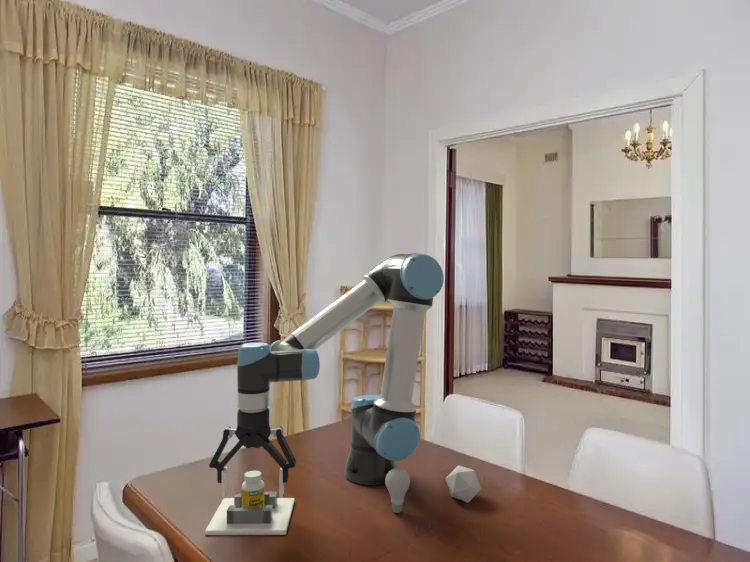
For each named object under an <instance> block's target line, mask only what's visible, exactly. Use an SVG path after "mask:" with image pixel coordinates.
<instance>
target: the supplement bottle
mask: <svg viewBox="0 0 750 562" xmlns="http://www.w3.org/2000/svg"><path fill="white" fill-rule="evenodd" d="M243 477H244V478H243V480H244V481H243V483H242V484H241V492H242V508H264V492H265V482H264V480H262V472H261V471H260V470H250V471H246V472H244V474H243Z"/></svg>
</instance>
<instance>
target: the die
mask: <svg viewBox="0 0 750 562" xmlns="http://www.w3.org/2000/svg"><path fill="white" fill-rule="evenodd" d="M477 475H478V474H477V473H476V471H475V470H474V469H472V468H468V467H465V466H462V465H457V466H456V467H455V468H454V469H453V470H452V471H451V472H450V473H449V474H448V475H447V476H446V477H445V482H446V485H447V488H448V490H449V493H450V497H452V498H454V499H457V500H459V501H461V502H464V503H470V501H471V500H473V498H475V496H476V495H477V494H479V492H480V491H481V490H482V487H481V484H480V482H479V478H478V476H477Z"/></svg>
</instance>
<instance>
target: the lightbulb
mask: <svg viewBox="0 0 750 562" xmlns="http://www.w3.org/2000/svg"><path fill="white" fill-rule="evenodd" d="M410 485H411V478H410V475H409V473H408V472H407V471H406V470H405V469H403V468H401V467H396V468H394V469H392V470H390V471H389V472H388V474H387V475H386V479H385V487H386V488H387V490H388V492H389V494H390V495H389V496H390V502H391V511H392V512H393V513H396V514H399V513H401V512H402V511H403V507H404V506H403V505H404V504H403V503H404V501H405V495H406V493H407V491H408V490H409V488H410Z"/></svg>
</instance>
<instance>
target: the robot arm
mask: <svg viewBox="0 0 750 562" xmlns="http://www.w3.org/2000/svg"><path fill="white" fill-rule="evenodd" d="M443 285H444V272H443V269H442V267H441V265H440V264H439V262H438V261H437V260H436V259H435V258H434V257H433V256H431V255H428V254H424V253H416V252H415V253H413V252H412V253H398V254H395V255H394V254H393V255H391V256H390V257H388V258H386V259H385V260H384V261H382V262H381V263H379V264H378V265H377V266H376V267H374V268H373V269H371V270H370V271H369V272H367V273H366V274H365V275H364V276H362V280H361V282H359V284H357V285H356V286H354V287H353V288H352V289H350V290H349V291H348V292H346V293H345V294H343V295H342V296H341V297H339V298H338V299H336V300H335V301H334V302H332V303H331V304H330V305H329V306H327V307H326V308H324V309H323V310H322V311H320V312H319V313H318V314H316V315H315V316H314V317H312V318H311V319H309V320H308V321H307V322H305V323H304V324H303V325H302V326H300V327H298V328H297V329H295V330H294V331H293V332H292V333H290V334H289V335H287V336H286V337H284V338H283V339H278V340H276V341H274V342H272V343H271V344H269V343H266V342H245V343H242V344H241V345H240V346H239V347H238V348H237V349H238V351H237V362H236V365H237V367H236V368H237V369H236V370H237V371H236V372H237V376H236V377H237V391H236V392H237V393H236V394H237V396H236V397H237V398H236V399H237V400H236V403H237V405H236V406H237V408H238V410H237V413H236V415H237V417H236V418H237V419H236V422H237V423H236V424H237V425H236V428H231V426H228V425H227V426H226V427H225V428H224V429H223V434H222V439H221V441H220V443H219V445H218V448H217V449H216V451H215V453H214V455H213V457H212V458H211V460H210V463H209V464H208V466H209V468H211V469H216V471H217V474H216V477H217V479H216V481H217V483H218V484H221V499H224V498H227V495H228V493H229V492H228V486H229V485H228V484H229V481H228V476H229V474H228V471H229V468H228V466H226V465H227V464H228V462H230V461H231V459H232V458H234V456H235V455H236V454H237V452H238V451H239V450H241V448H242V447H245V448H246V449H251V448H253V449H259V448H261V447H262V448H263V449H264V450H265V451H266V452H268V454H269V455H270V456H271V457H272V459H273V460H274V461H275V462H276V463H277V465H278V466H279V467H280V469H279V472H278V476H279V478H278V479H279V480H278V486H279V487H278V493H279V494H278V498H284V495H285V484H287V483H288V481H289V469H293V468H295V466H296V464H297V460H296V458H295V455H294V454H293V452H292V449H291V448H290V446H289V444H288V441H287V440H286V438H285V436H284V428H283V427H282V426H278V428H271V426H270V408H269V407H270V405H271V404H270V401H271V400H270V399H271V397H270V396H271V395H270V394H271V392H270V385H271V383H283V382H294V381H296V382H298V381H303V382H304V381H309V380H314V379H317V377H319V376H318V375H319V374H320V368H321V367H320V366H321V365H320V357H319V353H318V351H317V349H318V348H320V347H321V346H322V345H324V344H325V343H326V342H328V341H329V340H331V339H332V338H333V337H334V336H336V335H337V334H338V333H340V332H341V331H343V330H344V329H345V328H346V327H348V326H349V325H351V324H352V323H353V322H354V321H356V320H357V319H358V318H360V317H361V316H363V315H364V314H365V313H367V312H368V311H370V310H371V309H372V308H373V307H374V306H376V305H377V304H385V302H388V301H389V303H390V304H391V306H392V307H393V309H392V317H391V322H390V327H389V328H390V329H389V335H388V341H387V348H386V355H385V360H384V361H385V363H384V369H383V376H382V382H381V388H380V394H364V395H358V396H355V397H354V398H352V401H351V408H350V410H351V411H350V413H351V414H350V450H349V453H348V456H347V458H346V462H345V463H344V464H345V465H344V476H345V479H347V480H348V481H349V482H352V483H354V484H359V485H364V486H379V485H384V484H385V485H386V483H385V479H386V475H387V474H388V472H389V471H390V470H392V469H394V468H397V464H396V461H397V462H398V461H403V460H405V459H407V458H409V456H411V455H412V454H413V453H414V452H415V451H416V450H417V447H418V446H419V443H420V440H421V439H420V438H421V433H420V428H419V427H418V426H419V425H418V424H417V423H416V415H417V406H415V403H414V402H413V395H414V389H415V383H416V375H417V371H418V370H417V368H418V363H419V355H420V349H421V343H422V335H423V332H424V331H423V329H424V325H425V324H424V322H425V316H426V313H427V311H429V310H430V309H432V307H433V302H434V297H436V296H437V294H439V293H440V292H441V290H442V288H443ZM234 435H235V437H236V438H237V439H238V442H236V444H235V445H234V446H233V447H232V448H231V450H230V451H228V453H227V454H226V455H225V457H224V458H222V460H221V461H219V460H220V457H221V456H222V453H223V451H224V450H225V448H226V446H227V444H228V441H229V440H230V439H232V438H233V436H234ZM271 435H272V436H273V437H274V438H275V439H276V440H277V443H278V444H279V447H280V448H281V450H282V451H281V452H282V453H283V455H284V456H283V455H282V453H281V452H280V451H279V450H278V449H277V448H276V446H274V444H273V443H272V440H271V439H270V436H271Z"/></svg>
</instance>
